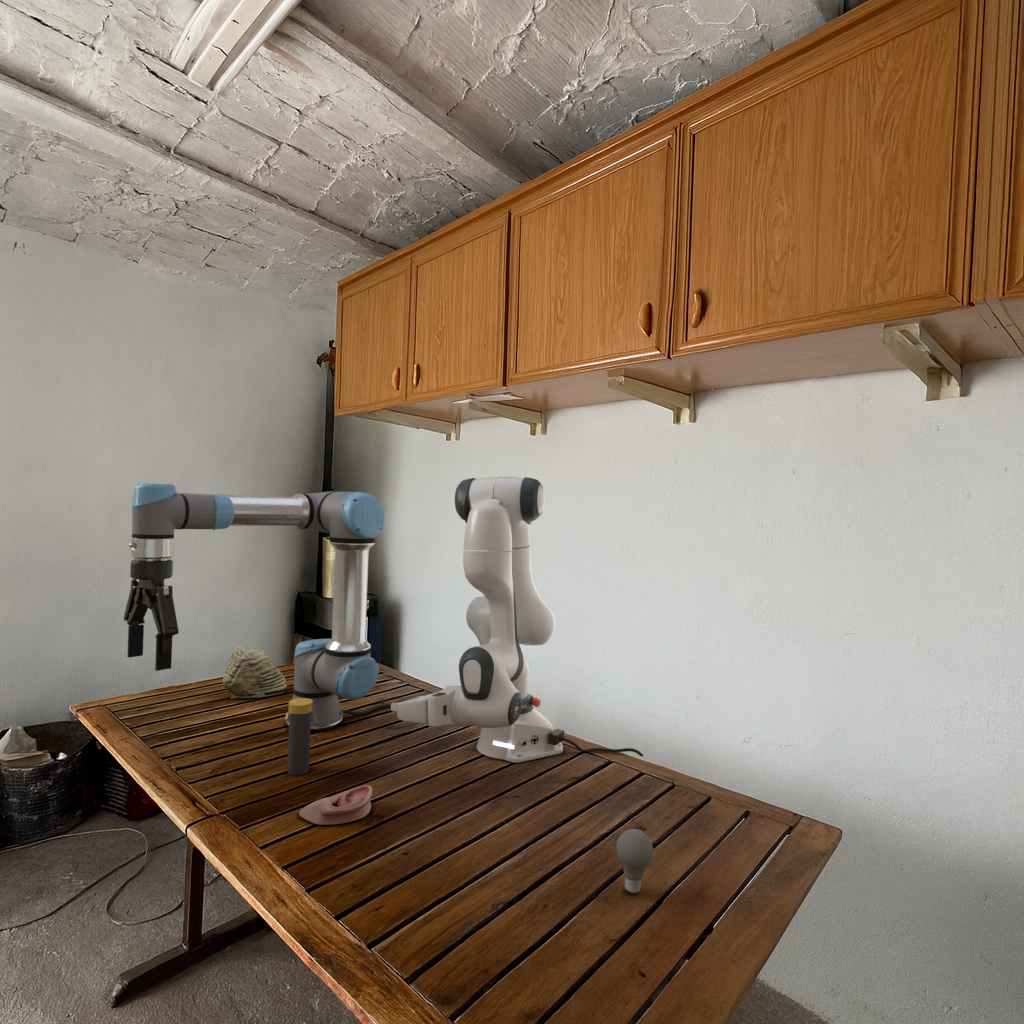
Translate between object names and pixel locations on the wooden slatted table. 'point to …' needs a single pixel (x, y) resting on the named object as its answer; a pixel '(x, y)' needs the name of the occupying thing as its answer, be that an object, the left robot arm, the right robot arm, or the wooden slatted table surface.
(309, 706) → the lid
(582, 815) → the wooden slatted table surface
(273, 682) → the fossil
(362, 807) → the anatomical model
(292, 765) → the dark grey bottle
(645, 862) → the light bulb
